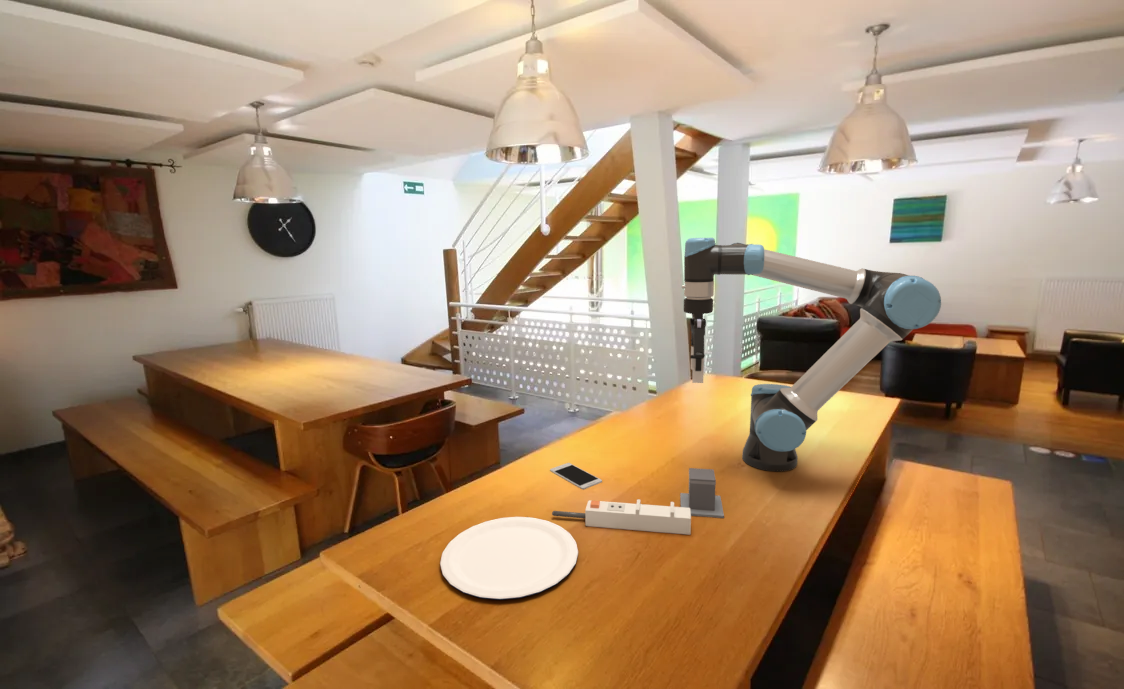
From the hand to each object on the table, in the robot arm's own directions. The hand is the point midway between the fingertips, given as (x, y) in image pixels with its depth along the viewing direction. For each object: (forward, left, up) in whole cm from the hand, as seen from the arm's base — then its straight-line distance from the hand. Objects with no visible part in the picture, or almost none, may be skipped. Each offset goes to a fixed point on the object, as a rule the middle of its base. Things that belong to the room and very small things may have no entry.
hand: (696, 375), depth 143 cm
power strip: (+18, +29, -29) cm, 45 cm away
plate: (+40, +46, -29) cm, 68 cm away
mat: (-1, +18, -29) cm, 34 cm away
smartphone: (+33, +6, -29) cm, 45 cm away
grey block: (-1, +18, -28) cm, 33 cm away
